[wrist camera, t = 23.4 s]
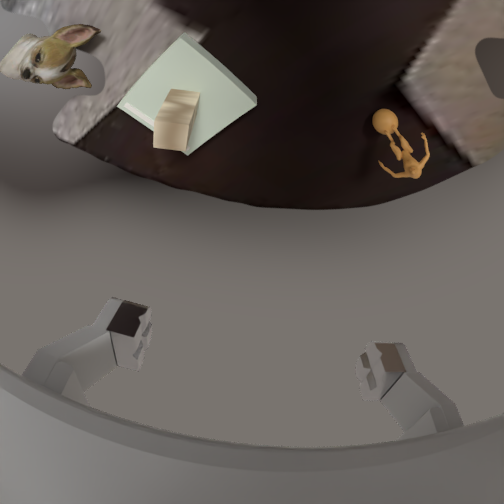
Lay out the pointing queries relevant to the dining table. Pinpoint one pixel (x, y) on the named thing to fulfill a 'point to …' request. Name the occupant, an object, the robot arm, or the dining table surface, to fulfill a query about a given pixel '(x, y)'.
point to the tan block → (176, 120)
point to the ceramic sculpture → (49, 57)
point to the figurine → (387, 125)
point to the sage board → (190, 79)
